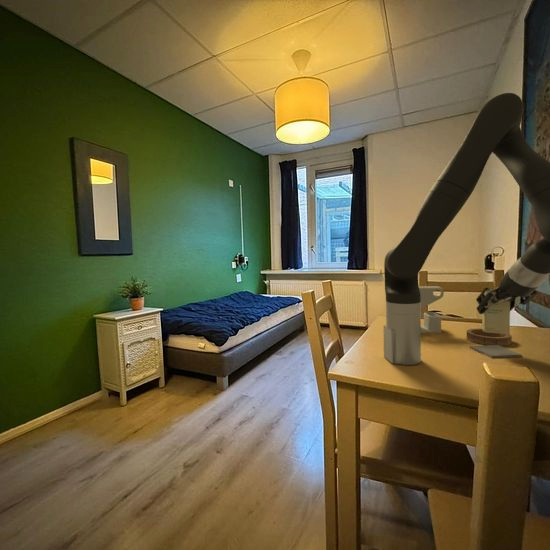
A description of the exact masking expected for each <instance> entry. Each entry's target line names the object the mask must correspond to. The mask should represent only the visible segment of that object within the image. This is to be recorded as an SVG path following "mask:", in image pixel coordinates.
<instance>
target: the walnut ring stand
mask: <svg viewBox="0 0 550 550" xmlns="http://www.w3.org/2000/svg"><path fill="white" fill-rule="evenodd" d="M512 339H513V338H512V334H511V333H509V334H501V333H490V332H484V331H483V329H482V328H481V327H479V328H469V329H466V340H468V341H470V342H472V343H475V344H479V345H499V346H502V347H504V346H509V345H512V341H513V340H512Z"/></svg>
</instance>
